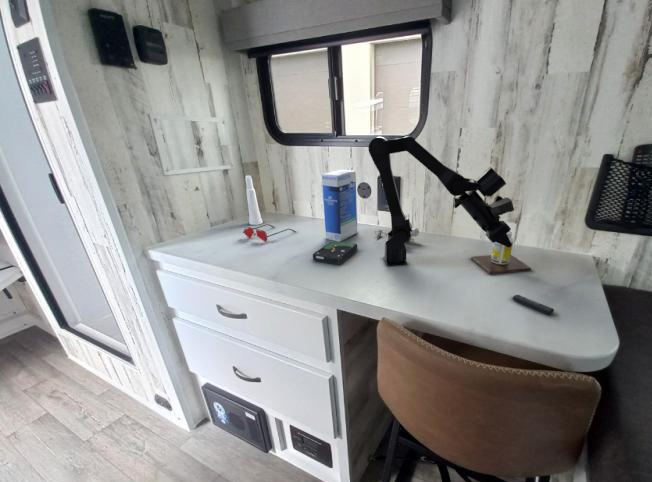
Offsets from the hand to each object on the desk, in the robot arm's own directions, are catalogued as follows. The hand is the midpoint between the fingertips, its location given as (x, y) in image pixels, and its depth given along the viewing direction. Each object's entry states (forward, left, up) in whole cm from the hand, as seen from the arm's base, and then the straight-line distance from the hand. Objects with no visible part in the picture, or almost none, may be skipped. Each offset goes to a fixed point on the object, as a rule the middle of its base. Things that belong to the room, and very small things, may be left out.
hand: (507, 243), depth 97 cm
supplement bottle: (-1, 0, -7) cm, 7 cm away
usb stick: (-7, -25, -8) cm, 27 cm away
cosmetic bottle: (-88, +66, -8) cm, 111 cm away
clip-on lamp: (-29, +29, -8) cm, 42 cm away
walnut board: (-1, 0, -8) cm, 8 cm away
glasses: (-79, +46, -8) cm, 92 cm away
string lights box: (-49, +39, -8) cm, 63 cm away
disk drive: (-53, +18, -8) cm, 57 cm away
